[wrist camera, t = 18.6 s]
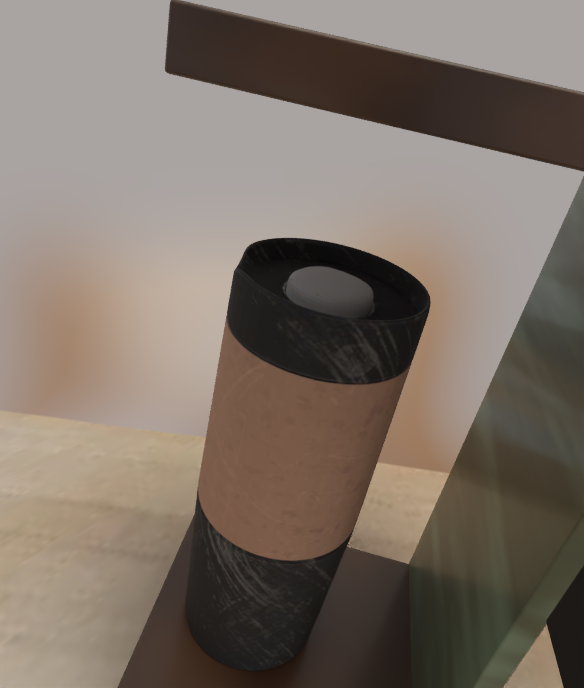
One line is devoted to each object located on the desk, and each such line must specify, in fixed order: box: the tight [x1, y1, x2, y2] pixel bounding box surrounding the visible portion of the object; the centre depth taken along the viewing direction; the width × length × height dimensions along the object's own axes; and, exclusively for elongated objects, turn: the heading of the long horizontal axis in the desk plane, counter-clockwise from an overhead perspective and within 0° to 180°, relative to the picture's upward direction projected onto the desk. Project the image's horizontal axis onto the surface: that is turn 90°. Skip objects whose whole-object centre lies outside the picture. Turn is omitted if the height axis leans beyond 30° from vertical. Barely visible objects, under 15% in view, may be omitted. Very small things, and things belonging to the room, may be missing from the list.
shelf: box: [118, 0, 584, 688], centre depth 24 cm, size 15×12×30 cm
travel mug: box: [186, 238, 430, 671], centre depth 25 cm, size 8×8×20 cm
